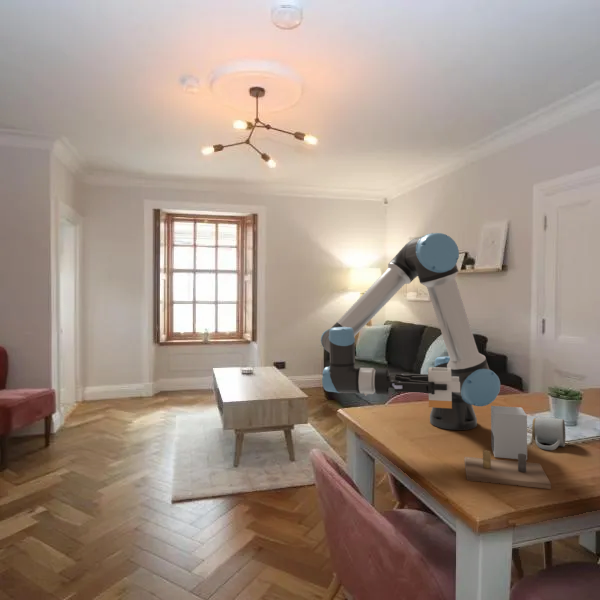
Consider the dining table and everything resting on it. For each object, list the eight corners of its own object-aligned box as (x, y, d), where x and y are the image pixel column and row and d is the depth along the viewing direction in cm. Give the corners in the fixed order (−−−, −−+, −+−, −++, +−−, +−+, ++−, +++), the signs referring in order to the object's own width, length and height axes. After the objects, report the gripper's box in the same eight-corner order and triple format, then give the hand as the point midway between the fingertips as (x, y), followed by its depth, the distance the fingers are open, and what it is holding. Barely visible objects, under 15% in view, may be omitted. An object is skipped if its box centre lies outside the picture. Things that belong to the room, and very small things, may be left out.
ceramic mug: (534, 437, 135) (534, 412, 134) (565, 441, 130) (565, 416, 130) (530, 448, 126) (529, 422, 126) (563, 454, 121) (562, 426, 121)
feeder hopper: (490, 446, 127) (490, 405, 127) (521, 449, 125) (521, 407, 124) (494, 457, 120) (493, 413, 119) (527, 459, 117) (526, 415, 117)
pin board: (464, 461, 117) (464, 441, 117) (539, 468, 112) (539, 448, 112) (467, 480, 106) (466, 458, 106) (550, 489, 100) (550, 466, 100)
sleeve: (429, 401, 126) (428, 367, 126) (451, 402, 125) (450, 367, 124) (428, 407, 121) (428, 371, 120) (451, 408, 119) (451, 371, 118)
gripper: (379, 386, 137) (458, 389, 130) (370, 402, 119) (461, 407, 112) (379, 362, 137) (457, 364, 130) (370, 374, 119) (460, 377, 112)
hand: (459, 384), depth 121 cm, fingers closed on sleeve, 6 cm apart
